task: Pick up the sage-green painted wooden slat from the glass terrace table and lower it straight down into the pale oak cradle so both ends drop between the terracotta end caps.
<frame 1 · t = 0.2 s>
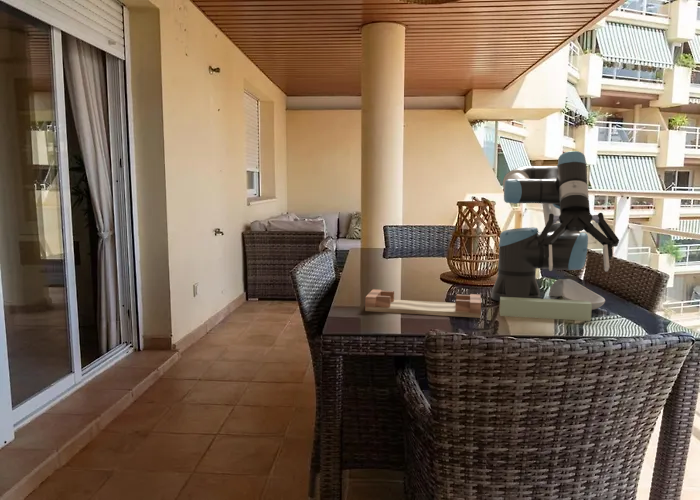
hand: (578, 269, 135), 15 cm above the table, tool tilted 35°, fingers open, 13 cm apart
spoon rest: (572, 305, 162), on the table
slat cradle: (423, 309, 153), on the table
slat: (543, 317, 146), on the table
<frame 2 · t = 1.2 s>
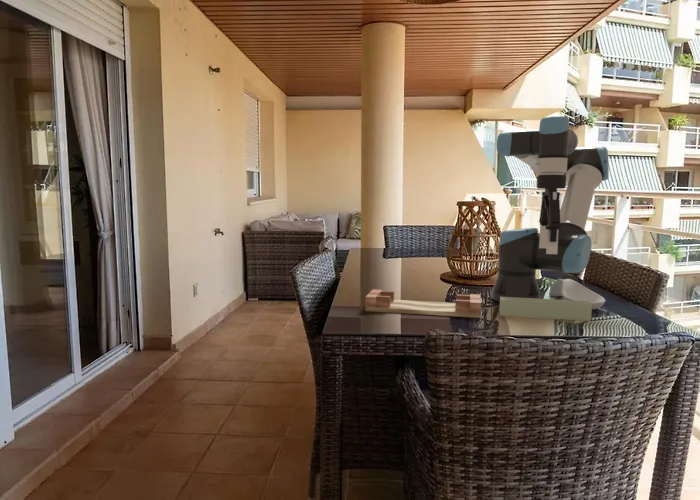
hand: (547, 251, 143), 19 cm above the table, tool pointing down, fingers open, 13 cm apart
nothing on the table moved.
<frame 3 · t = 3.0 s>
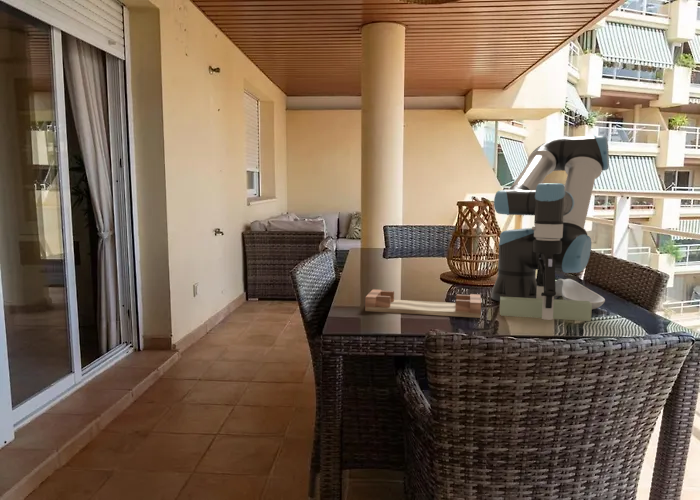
hand: (543, 313, 146), 1 cm above the table, tool pointing down, fingers open, 13 cm apart
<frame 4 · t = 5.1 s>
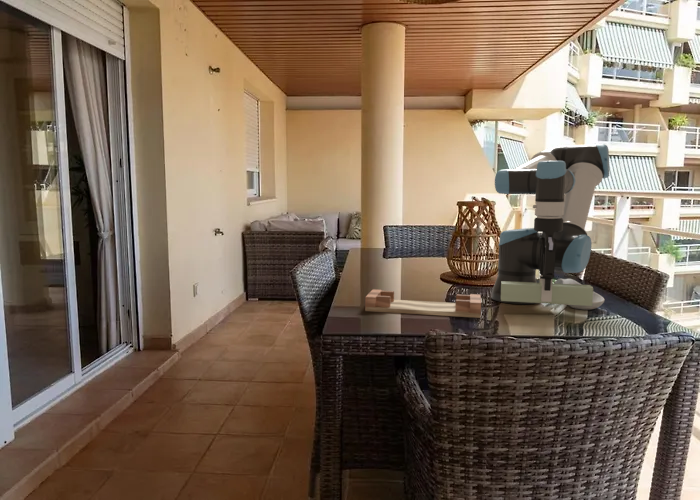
hand: (545, 299, 145), 5 cm above the table, tool pointing down, fingers closed on slat, 4 cm apart
slat: (544, 301, 146), point 4 cm above the table, touching gripper
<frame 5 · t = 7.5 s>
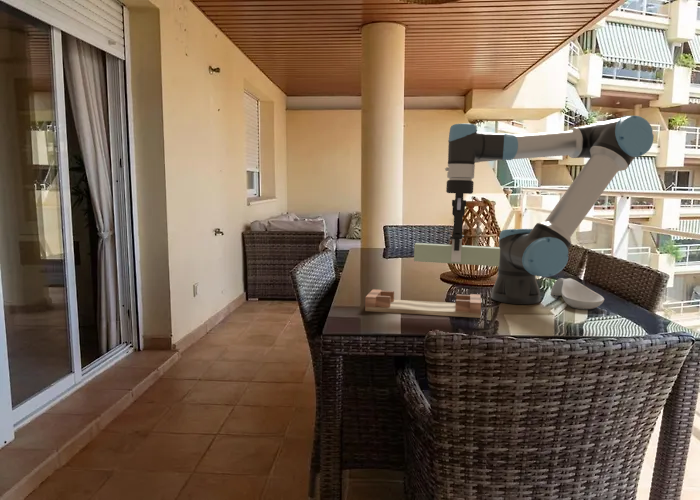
hand: (455, 260, 149), 15 cm above the table, tool pointing down, fingers closed on slat, 4 cm apart
slat: (455, 262, 149), point 15 cm above the table, touching gripper
when the fingers open (2 cm above the table, at t = 10.3 s): slat stays where it is, resting on slat cradle.
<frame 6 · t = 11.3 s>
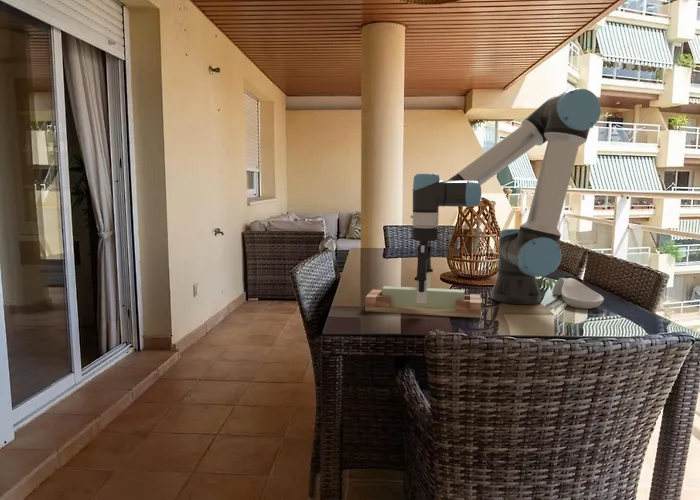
hand: (423, 298, 153), 4 cm above the table, tool pointing down, fingers open, 13 cm apart
slat: (422, 305, 153), point 1 cm above the table, touching slat cradle
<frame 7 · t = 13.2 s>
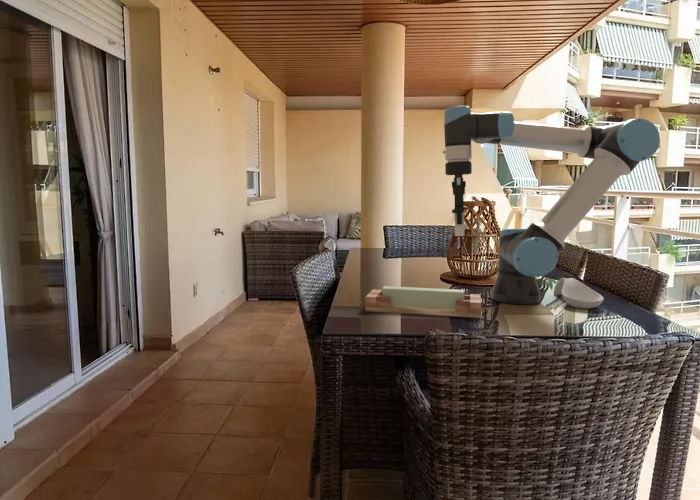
hand: (459, 233, 152), 23 cm above the table, tool pointing down, fingers open, 13 cm apart
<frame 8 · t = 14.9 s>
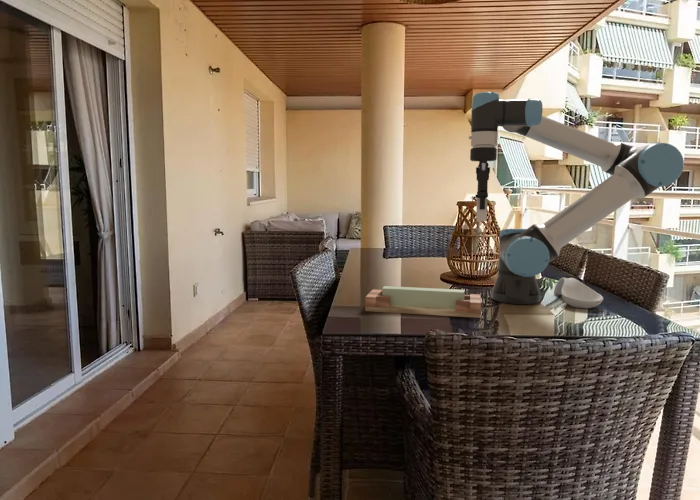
hand: (481, 219, 153), 27 cm above the table, tool pointing down, fingers open, 13 cm apart
at the end: slat 0.2 cm off-centre on the slat cradle, point 1.2 cm above the slat cradle's base; slat tilted 0°; the gripper is holding nothing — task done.
